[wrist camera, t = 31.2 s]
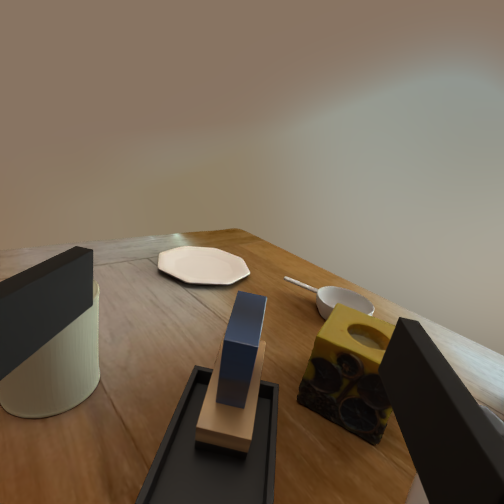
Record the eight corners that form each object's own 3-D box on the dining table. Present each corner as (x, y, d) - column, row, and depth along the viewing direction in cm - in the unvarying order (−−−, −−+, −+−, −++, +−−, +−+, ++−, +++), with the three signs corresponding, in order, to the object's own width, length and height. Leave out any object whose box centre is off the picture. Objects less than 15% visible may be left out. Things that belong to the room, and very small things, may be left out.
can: (-21, 422, 28) (-41, 311, 24) (23, 355, 37) (13, 264, 33) (89, 415, 31) (88, 313, 27) (107, 354, 39) (108, 269, 35)
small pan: (365, 339, 53) (372, 320, 52) (271, 303, 59) (274, 285, 58) (371, 313, 62) (376, 297, 61) (289, 284, 69) (292, 269, 67)
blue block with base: (245, 460, 29) (269, 379, 22) (194, 448, 29) (200, 363, 22) (261, 362, 38) (281, 282, 31) (221, 353, 38) (232, 272, 31)
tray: (264, 579, 22) (271, 557, 21) (125, 543, 22) (127, 520, 21) (274, 400, 37) (278, 383, 36) (192, 381, 37) (194, 364, 36)
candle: (318, 358, 46) (335, 300, 42) (388, 392, 42) (414, 330, 38) (292, 401, 37) (312, 333, 34) (378, 449, 33) (410, 376, 30)
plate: (159, 249, 75) (159, 243, 74) (237, 255, 80) (238, 249, 80) (155, 287, 57) (156, 280, 57) (256, 291, 63) (257, 284, 62)
